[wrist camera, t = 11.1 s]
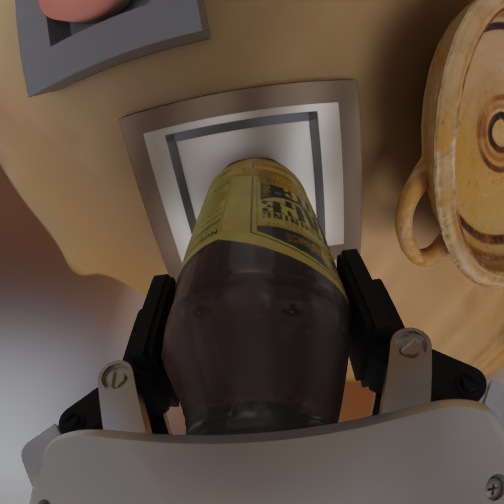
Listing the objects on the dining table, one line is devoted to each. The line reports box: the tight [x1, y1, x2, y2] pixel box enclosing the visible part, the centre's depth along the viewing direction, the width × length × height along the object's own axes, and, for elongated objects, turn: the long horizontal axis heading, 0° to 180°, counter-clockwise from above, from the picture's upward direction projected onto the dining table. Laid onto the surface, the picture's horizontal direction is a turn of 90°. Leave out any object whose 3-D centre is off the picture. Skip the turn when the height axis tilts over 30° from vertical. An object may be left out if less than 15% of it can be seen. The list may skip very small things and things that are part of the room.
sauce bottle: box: [161, 157, 352, 435], centre depth 11 cm, size 6×6×20 cm
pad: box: [119, 79, 362, 281], centre depth 21 cm, size 16×14×1 cm
